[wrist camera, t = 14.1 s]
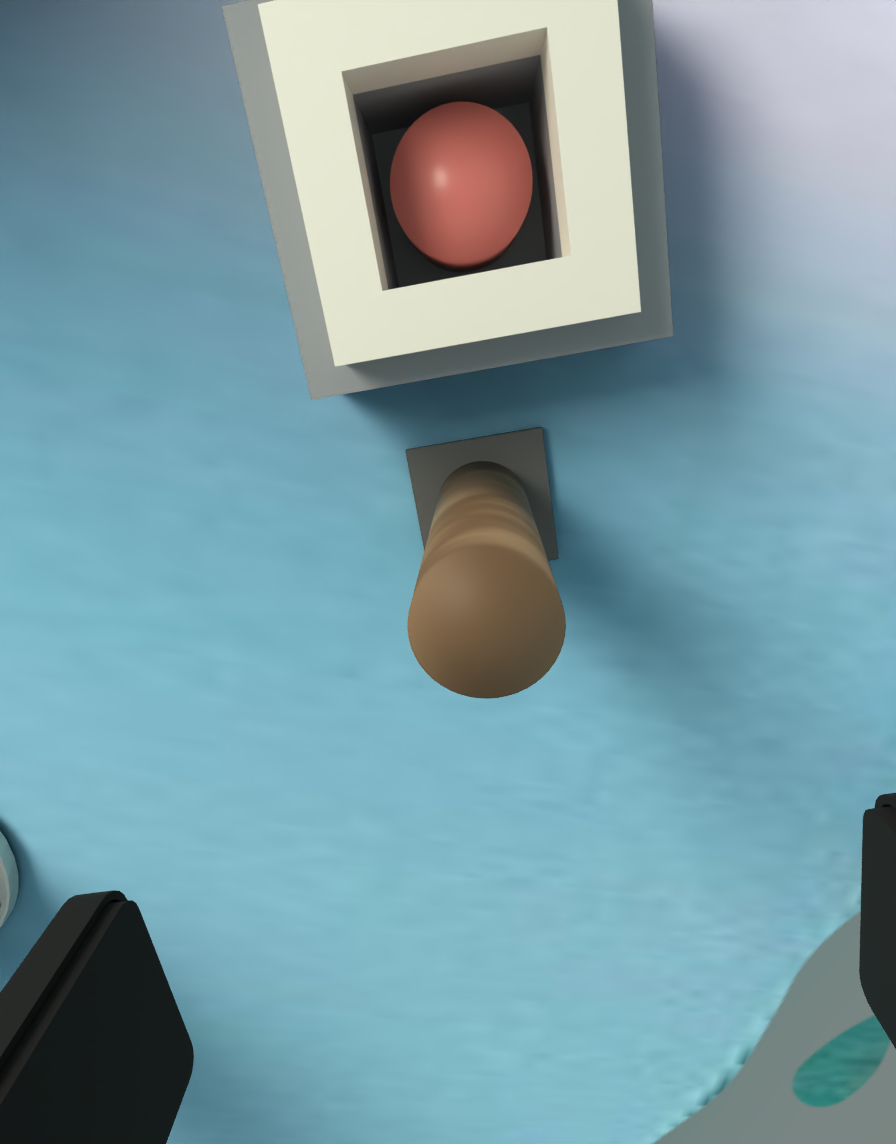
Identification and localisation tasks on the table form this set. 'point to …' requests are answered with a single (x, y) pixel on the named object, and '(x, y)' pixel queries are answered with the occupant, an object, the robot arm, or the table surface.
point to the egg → (461, 185)
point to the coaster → (506, 449)
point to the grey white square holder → (363, 166)
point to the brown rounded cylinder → (485, 589)
